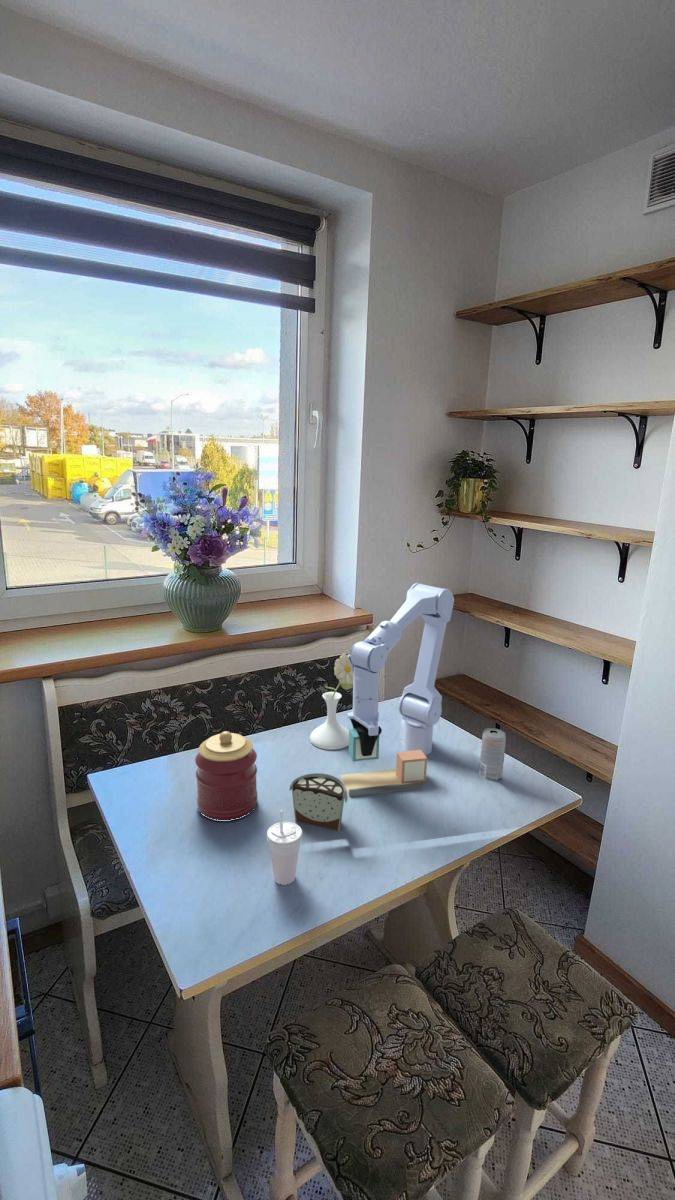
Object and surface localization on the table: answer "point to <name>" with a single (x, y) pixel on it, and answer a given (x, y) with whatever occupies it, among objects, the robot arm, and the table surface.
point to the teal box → (356, 748)
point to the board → (375, 783)
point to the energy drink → (492, 754)
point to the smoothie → (284, 849)
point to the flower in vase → (334, 711)
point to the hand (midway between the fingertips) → (363, 750)
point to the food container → (319, 800)
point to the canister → (226, 776)
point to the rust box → (411, 766)
